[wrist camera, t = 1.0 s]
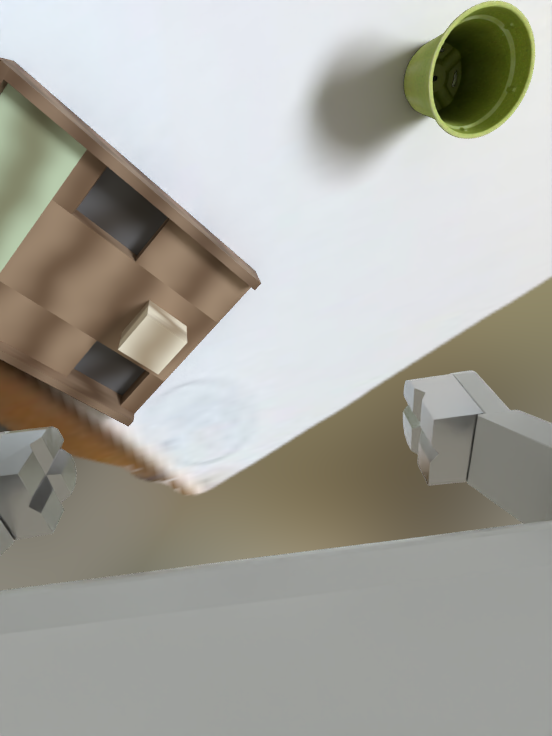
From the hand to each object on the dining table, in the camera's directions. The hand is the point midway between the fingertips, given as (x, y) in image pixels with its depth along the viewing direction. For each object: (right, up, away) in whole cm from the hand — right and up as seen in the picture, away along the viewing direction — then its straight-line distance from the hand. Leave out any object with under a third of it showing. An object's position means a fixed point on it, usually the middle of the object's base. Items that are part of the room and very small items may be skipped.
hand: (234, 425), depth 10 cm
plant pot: (+16, +30, +33) cm, 48 cm away
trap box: (-19, +12, +36) cm, 42 cm away
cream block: (-13, +6, +38) cm, 41 cm away
